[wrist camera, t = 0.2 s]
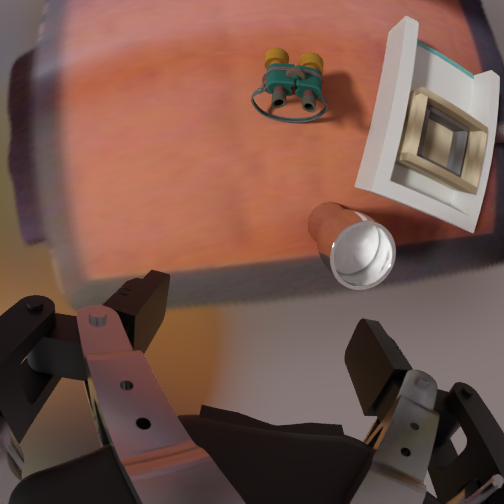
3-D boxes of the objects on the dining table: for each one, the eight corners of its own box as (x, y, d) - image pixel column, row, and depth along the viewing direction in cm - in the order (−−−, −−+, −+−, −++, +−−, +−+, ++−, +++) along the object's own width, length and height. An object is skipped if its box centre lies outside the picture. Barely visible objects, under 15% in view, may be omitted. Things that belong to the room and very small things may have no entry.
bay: (388, 31, 31) (406, 15, 25) (476, 82, 32) (499, 76, 25) (354, 186, 38) (371, 191, 32) (449, 224, 39) (473, 233, 33)
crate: (401, 95, 32) (422, 86, 26) (464, 129, 33) (488, 127, 27) (387, 160, 35) (407, 160, 29) (451, 189, 36) (475, 194, 30)
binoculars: (319, 104, 37) (335, 50, 27) (322, 154, 34) (344, 99, 25) (253, 96, 37) (256, 39, 27) (246, 145, 34) (248, 86, 25)
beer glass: (294, 230, 40) (312, 267, 26) (323, 188, 38) (358, 203, 24) (333, 257, 41) (367, 304, 27) (361, 217, 39) (411, 246, 25)
